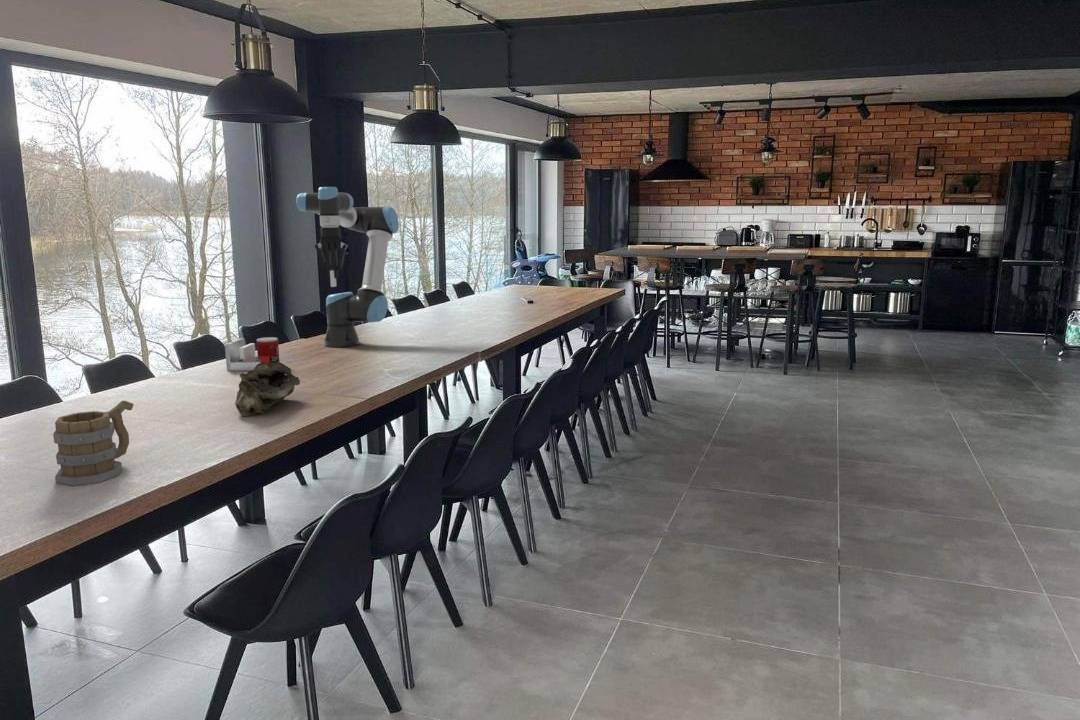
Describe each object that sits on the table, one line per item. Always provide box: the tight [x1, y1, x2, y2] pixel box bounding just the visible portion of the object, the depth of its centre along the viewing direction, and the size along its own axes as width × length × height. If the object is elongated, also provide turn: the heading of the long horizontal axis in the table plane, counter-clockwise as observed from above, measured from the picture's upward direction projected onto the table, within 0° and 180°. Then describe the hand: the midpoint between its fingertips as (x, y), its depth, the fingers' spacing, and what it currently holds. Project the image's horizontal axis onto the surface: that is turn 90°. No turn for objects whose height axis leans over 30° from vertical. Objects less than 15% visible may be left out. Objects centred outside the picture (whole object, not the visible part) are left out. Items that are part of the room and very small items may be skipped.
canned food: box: [256, 336, 281, 363], centre depth 296 cm, size 8×8×11 cm
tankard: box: [52, 400, 135, 487], centre depth 178 cm, size 20×13×15 cm, turn 158°
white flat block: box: [238, 342, 257, 362], centre depth 295 cm, size 13×2×8 cm, turn 177°
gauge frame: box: [224, 337, 262, 371], centre depth 296 cm, size 14×13×10 cm
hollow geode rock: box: [234, 362, 301, 417], centre depth 236 cm, size 28×13×15 cm
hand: (333, 286), depth 308 cm, fingers closed
